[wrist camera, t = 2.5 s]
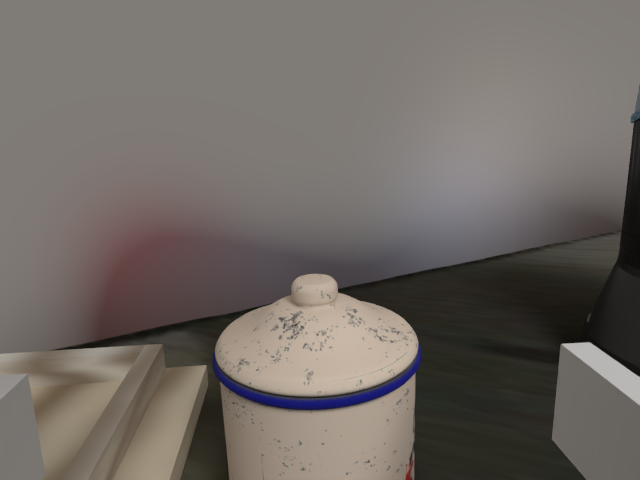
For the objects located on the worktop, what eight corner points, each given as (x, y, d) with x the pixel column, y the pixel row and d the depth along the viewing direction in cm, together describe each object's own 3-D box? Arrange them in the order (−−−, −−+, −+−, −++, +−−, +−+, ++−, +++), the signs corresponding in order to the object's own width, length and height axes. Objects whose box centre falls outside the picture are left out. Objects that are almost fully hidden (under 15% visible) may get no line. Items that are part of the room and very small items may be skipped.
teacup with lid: (459, 551, 21) (469, 296, 18) (251, 631, 18) (225, 340, 15) (348, 405, 32) (344, 233, 29) (208, 440, 29) (188, 251, 26)
